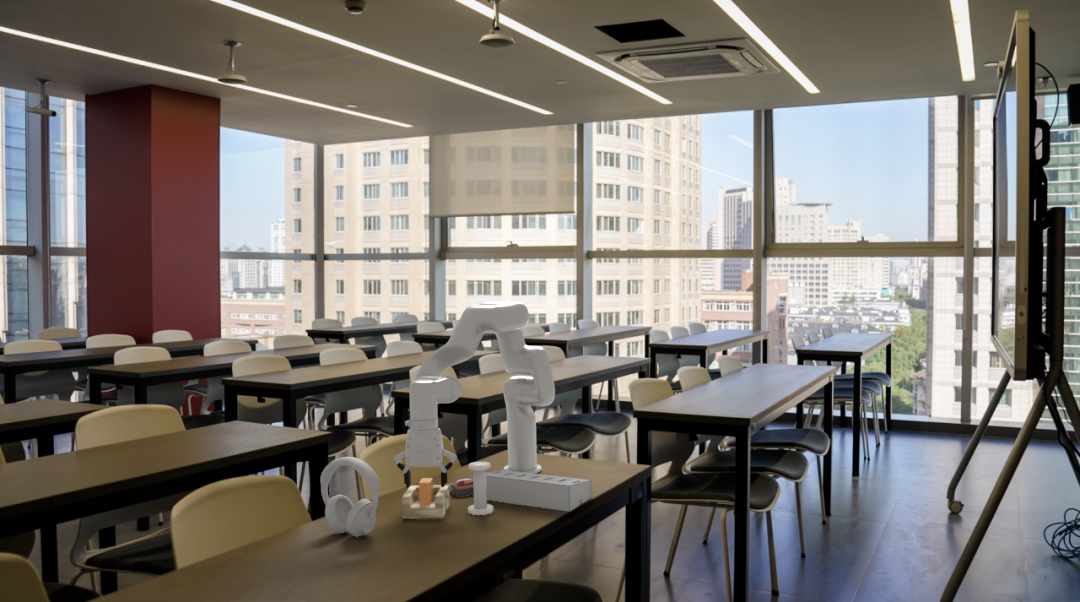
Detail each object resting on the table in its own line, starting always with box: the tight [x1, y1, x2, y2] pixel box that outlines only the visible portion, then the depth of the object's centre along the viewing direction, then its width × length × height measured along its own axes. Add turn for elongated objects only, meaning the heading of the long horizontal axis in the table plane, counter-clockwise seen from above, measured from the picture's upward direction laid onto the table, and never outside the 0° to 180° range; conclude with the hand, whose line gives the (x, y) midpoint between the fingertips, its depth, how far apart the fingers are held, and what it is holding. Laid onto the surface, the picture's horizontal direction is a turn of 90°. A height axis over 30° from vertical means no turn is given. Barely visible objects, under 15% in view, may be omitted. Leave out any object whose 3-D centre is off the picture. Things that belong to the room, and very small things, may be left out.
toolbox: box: [448, 477, 474, 498], centre depth 234 cm, size 9×4×20 cm
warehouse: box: [486, 469, 592, 512], centre depth 226 cm, size 30×14×8 cm, turn 62°
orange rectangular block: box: [418, 477, 434, 505], centre depth 214 cm, size 5×3×6 cm, turn 179°
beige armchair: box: [401, 484, 451, 519], centre depth 215 cm, size 12×11×6 cm
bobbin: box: [467, 461, 494, 517], centre depth 214 cm, size 7×7×13 cm
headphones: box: [319, 456, 380, 537], centre depth 197 cm, size 18×8×20 cm, turn 60°
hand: (426, 486), depth 215 cm, fingers open, 9 cm apart
